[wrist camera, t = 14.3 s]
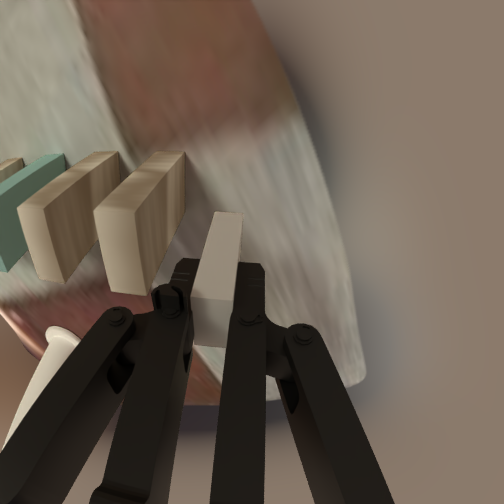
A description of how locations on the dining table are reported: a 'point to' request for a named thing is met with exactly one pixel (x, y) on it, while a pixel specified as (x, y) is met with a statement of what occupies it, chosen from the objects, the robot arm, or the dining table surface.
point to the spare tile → (13, 195)
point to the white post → (45, 369)
